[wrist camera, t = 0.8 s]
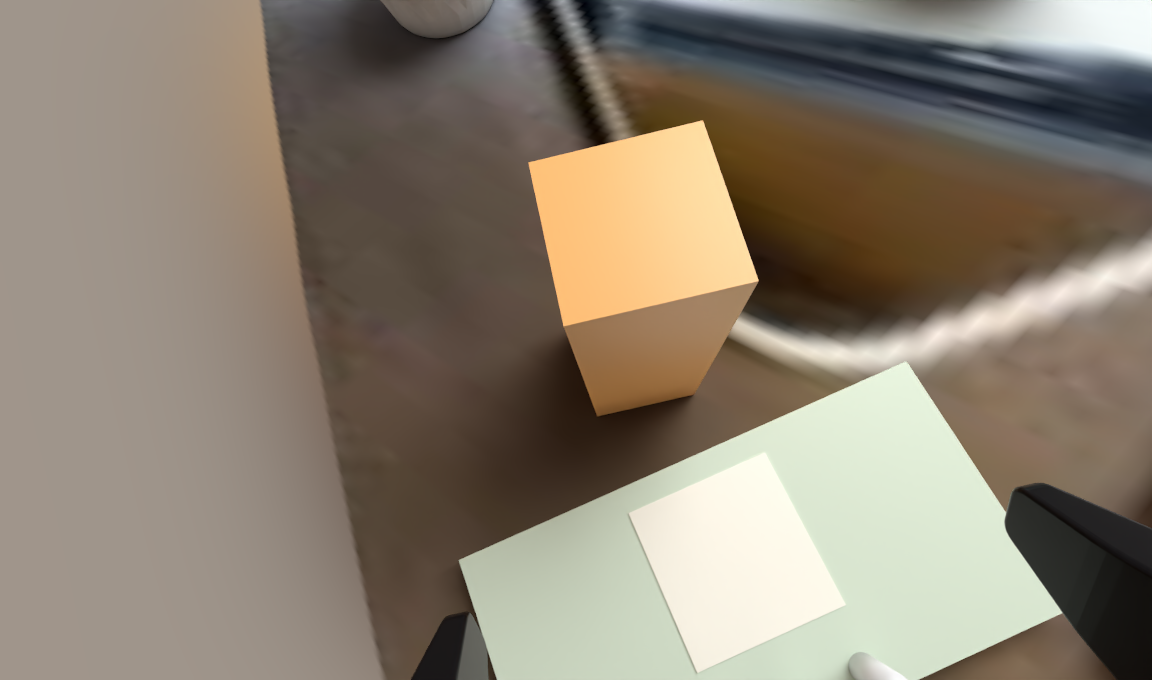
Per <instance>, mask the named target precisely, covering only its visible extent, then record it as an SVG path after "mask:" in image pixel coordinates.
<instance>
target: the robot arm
mask: <svg viewBox="0 0 1152 680" xmlns="http://www.w3.org/2000/svg"><path fill="white" fill-rule="evenodd" d="M1004 525H1005V529H1006V532H1007V534H1008V536H1009V538H1010V539H1011V541H1012V542H1013V543H1014V545H1015V546H1016V548H1017V549H1018V550H1019V552H1020V553H1021V555H1022V556H1023V558H1024V559H1025V560H1026V562H1027V563H1028V565H1029V566H1030V567H1031V569H1032V570H1033V572H1034V573H1035V575H1036V576H1037V577H1038V579H1039V580H1040V582H1041V583H1042V584H1043V586H1044V587H1045V589H1046V590H1047V592H1048V593H1049V594H1050V596H1051V597H1052V599H1053V600H1054V601H1055V603H1056V604H1057V606H1058V607H1059V609H1060V610H1061V611H1062V613H1063V614H1064V616H1065V617H1066V618H1067V620H1068V621H1069V622H1070V624H1071V625H1072V626H1073V628H1074V629H1075V630H1076V631H1077V633H1078V634H1079V635H1080V636H1081V638H1082V639H1083V640H1084V641H1085V642H1086V644H1087V645H1088V646H1089V647H1090V648H1091V650H1092V651H1093V652H1094V653H1095V654H1096V656H1097V657H1098V658H1099V659H1100V660H1101V662H1102V663H1103V664H1104V665H1105V666H1106V667H1107V669H1108V670H1109V671H1110V672H1111V673H1112V675H1113V676H1114V677H1115V678H1116V679H1117V680H1152V528H1149V527H1147V526H1145V525H1142V524H1140V523H1138V522H1135V521H1133V520H1131V519H1128V518H1126V517H1124V516H1121V515H1119V514H1117V513H1114V512H1112V511H1110V510H1107V509H1105V508H1103V507H1100V506H1098V505H1096V504H1093V503H1091V502H1089V501H1086V500H1084V499H1082V498H1079V497H1077V496H1075V495H1072V494H1070V493H1068V492H1065V491H1063V490H1061V489H1058V488H1056V487H1054V486H1051V485H1048V484H1045V483H1033V484H1029V485H1024V486H1020V487H1017V488H1015V489H1014V490H1013V491H1012V493H1011V496H1010V500H1009V504H1008V508H1007V512H1006V516H1005V520H1004ZM411 680H488V660H487V648H486V643H485V640H484V637H483V635H482V633H481V632H480V630H479V628H478V626H477V624H476V622H475V620H474V618H473V616H472V615H471V613H469V612H462V613H458V614H453V615H449V616H447V617H446V618H444V619H443V621H442V622H441V624H440V626H439V628H438V630H437V632H436V633H435V635H434V637H433V639H432V641H431V643H430V645H429V646H428V648H427V650H426V652H425V654H424V656H423V658H422V660H421V661H420V663H419V665H418V667H417V669H416V671H415V673H414V674H413V676H412V678H411Z"/></svg>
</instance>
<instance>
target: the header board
mask: <svg viewBox="0 0 1152 680" xmlns="http://www.w3.org/2000/svg"><path fill="white" fill-rule="evenodd" d="M1005 516H1006V512H1005V511H1004V509H1003V508H1002V506H1001V505H1000V503H999V502H998V500H997V499H996V497H995V496H994V494H993V492H992V491H991V489H990V488H989V486H988V485H987V483H986V482H985V480H984V479H983V477H982V476H981V474H980V473H979V471H978V470H977V468H976V467H975V465H974V464H973V462H972V461H971V459H970V457H969V456H968V454H967V453H966V451H965V450H964V448H963V447H962V445H961V444H960V442H959V441H958V439H957V438H956V436H955V435H954V433H953V432H952V430H951V429H950V427H949V425H948V424H947V422H946V421H945V419H944V418H943V416H942V415H941V413H940V412H939V410H938V409H937V407H936V406H935V404H934V403H933V401H932V400H931V398H930V397H929V395H928V393H927V392H926V390H925V389H924V387H923V386H922V384H921V383H920V381H919V380H918V378H917V377H916V375H915V374H914V372H913V371H912V369H911V368H910V366H909V365H908V363H907V362H904V363H901V364H899V365H897V366H895V367H892V368H890V369H888V370H886V371H883V372H881V373H879V374H877V375H874V376H872V377H870V378H868V379H865V380H863V381H861V382H859V383H856V384H854V385H852V386H850V387H847V388H845V389H843V390H841V391H838V392H836V393H834V394H832V395H829V396H827V397H825V398H823V399H820V400H818V401H816V402H814V403H811V404H809V405H807V406H805V407H802V408H800V409H798V410H796V411H793V412H791V413H789V414H787V415H784V416H782V417H780V418H778V419H775V420H773V421H771V422H769V423H766V424H764V425H762V426H760V427H757V428H755V429H753V430H751V431H748V432H746V433H744V434H742V435H739V436H737V437H735V438H733V439H730V440H728V441H726V442H724V443H721V444H719V445H717V446H715V447H712V448H710V449H708V450H706V451H703V452H701V453H699V454H697V455H694V456H692V457H690V458H688V459H685V460H683V461H681V462H679V463H676V464H674V465H672V466H670V467H667V468H665V469H663V470H661V471H658V472H656V473H654V474H652V475H649V476H647V477H645V478H643V479H640V480H638V481H636V482H634V483H631V484H629V485H627V486H625V487H622V488H620V489H618V490H616V491H613V492H611V493H609V494H607V495H604V496H602V497H600V498H597V499H595V500H593V501H591V502H588V503H586V504H584V505H582V506H579V507H577V508H575V509H573V510H570V511H568V512H566V513H564V514H561V515H559V516H557V517H555V518H552V519H550V520H548V521H546V522H543V523H541V524H539V525H537V526H534V527H532V528H530V529H528V530H525V531H523V532H521V533H519V534H516V535H514V536H512V537H510V538H507V539H505V540H503V541H501V542H498V543H496V544H494V545H492V546H489V547H487V548H485V549H483V550H480V551H478V552H476V553H474V554H471V555H469V556H467V557H465V558H462V559H460V560H459V563H460V566H461V569H462V572H463V575H464V578H465V581H466V584H467V588H468V591H469V594H470V597H471V600H472V603H473V606H474V609H475V613H476V616H477V619H478V622H479V625H480V628H481V631H482V634H483V637H484V640H485V643H486V647H487V650H488V653H489V656H490V659H491V662H492V666H493V669H494V672H495V675H496V678H497V680H919V679H921V678H923V677H925V676H928V675H930V674H932V673H934V672H936V671H938V670H941V669H943V668H945V667H947V666H949V665H951V664H953V663H956V662H958V661H960V660H962V659H964V658H966V657H969V656H971V655H973V654H975V653H977V652H979V651H981V650H984V649H986V648H988V647H990V646H992V645H994V644H997V643H999V642H1001V641H1003V640H1005V639H1007V638H1009V637H1012V636H1014V635H1016V634H1018V633H1020V632H1022V631H1025V630H1027V629H1029V628H1031V627H1033V626H1035V625H1037V624H1040V623H1042V622H1044V621H1046V620H1048V619H1050V618H1053V617H1055V616H1057V615H1059V614H1061V613H1062V611H1061V610H1060V609H1059V607H1058V606H1057V604H1056V603H1055V601H1054V600H1053V599H1052V597H1051V596H1050V594H1049V593H1048V592H1047V590H1046V589H1045V587H1044V586H1043V584H1042V583H1041V582H1040V580H1039V579H1038V577H1037V576H1036V575H1035V573H1034V572H1033V570H1032V569H1031V567H1030V566H1029V565H1028V563H1027V562H1026V560H1025V559H1024V558H1023V556H1022V555H1021V553H1020V552H1019V550H1018V549H1017V548H1016V546H1015V545H1014V543H1013V542H1012V541H1011V539H1010V538H1009V536H1008V534H1007V532H1006V529H1005V525H1004V520H1005Z"/></svg>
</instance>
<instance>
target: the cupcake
mask: <svg viewBox="0 0 1152 680" xmlns="http://www.w3.org/2000/svg"><path fill="white" fill-rule="evenodd" d="M380 1H381V2H382V3H383V4H384V5H385V6H386V8H387V9H388V10H389V11H390V13H391V14H392V15H393V16H394V18H395V19H396V20H397V21H398V22H399V23H400V24H401V25H402V26H403V27H405V28H406V29H407V30H409V31H410V32H412V33H413V34H416V35H419V36H423V37H428V38H444V37H450V36H453V35H457V34H460V33H463V32H465V31H466V30H468V29H470V28H471V27H473V26H474V25H476V24H477V23H478V22H479V21H480V20H482V19H483V18H484V17H485V15H486V14H487V12H488V11H489V9H490V7H491V5H492V3H493V0H380Z"/></svg>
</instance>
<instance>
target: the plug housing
mask: <svg viewBox="0 0 1152 680" xmlns="http://www.w3.org/2000/svg"><path fill="white" fill-rule="evenodd" d="M529 167H530V172H531V177H532V181H533V186H534V191H535V195H536V200H537V205H538V209H539V214H540V219H541V223H542V228H543V233H544V237H545V242H546V246H547V251H548V256H549V260H550V265H551V270H552V274H553V279H554V284H555V288H556V293H557V298H558V302H559V307H560V312H561V316H562V321H563V326H564V329H565V331H566V334H567V337H568V339H569V342H570V345H571V347H572V350H573V353H574V355H575V358H576V361H577V363H578V366H579V369H580V371H581V374H582V377H583V379H584V382H585V385H586V387H587V390H588V393H589V396H590V398H591V401H592V404H593V406H594V409H595V412H596V414H597V416H602V415H606V414H611V413H615V412H620V411H624V410H628V409H633V408H637V407H642V406H646V405H650V404H655V403H659V402H664V401H668V400H673V399H677V398H681V397H686V396H690V395H694V394H695V392H696V390H697V389H698V387H699V385H700V383H701V381H702V380H703V378H704V376H705V374H706V373H707V371H708V369H709V367H710V366H711V364H712V362H713V360H714V359H715V357H716V355H717V353H718V352H719V350H720V348H721V346H722V345H723V343H724V341H725V339H726V338H727V336H728V334H729V332H730V331H731V329H732V327H733V325H734V323H735V322H736V320H737V318H738V316H739V315H740V313H741V311H742V309H743V308H744V306H745V304H746V302H747V301H748V299H749V297H750V295H751V294H752V292H753V290H754V288H755V287H756V285H757V283H758V278H757V275H756V272H755V269H754V266H753V263H752V260H751V258H750V255H749V252H748V249H747V246H746V243H745V240H744V237H743V235H742V232H741V229H740V226H739V223H738V220H737V217H736V214H735V212H734V209H733V206H732V203H731V200H730V197H729V194H728V191H727V189H726V186H725V183H724V180H723V177H722V174H721V171H720V168H719V166H718V163H717V160H716V157H715V154H714V151H713V148H712V145H711V143H710V140H709V137H708V134H707V131H706V128H705V125H704V122H703V121H699V122H695V123H690V124H686V125H682V126H678V127H674V128H670V129H666V130H661V131H657V132H653V133H649V134H645V135H641V136H637V137H633V138H628V139H624V140H620V141H616V142H612V143H608V144H604V145H599V146H595V147H591V148H587V149H583V150H579V151H575V152H571V153H566V154H562V155H558V156H554V157H550V158H546V159H542V160H537V161H533V162H529Z"/></svg>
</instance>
